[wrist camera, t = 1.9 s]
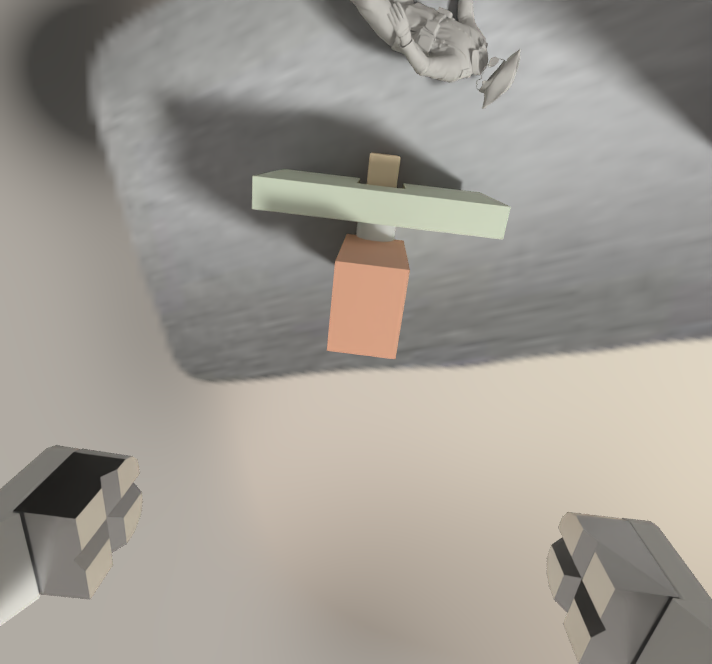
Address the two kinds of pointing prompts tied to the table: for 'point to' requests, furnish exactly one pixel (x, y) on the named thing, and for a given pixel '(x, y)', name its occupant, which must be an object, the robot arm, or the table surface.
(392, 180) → the tan wooden block
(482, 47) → the soldier figure
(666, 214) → the table surface
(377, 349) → the t-shaped crossbar
